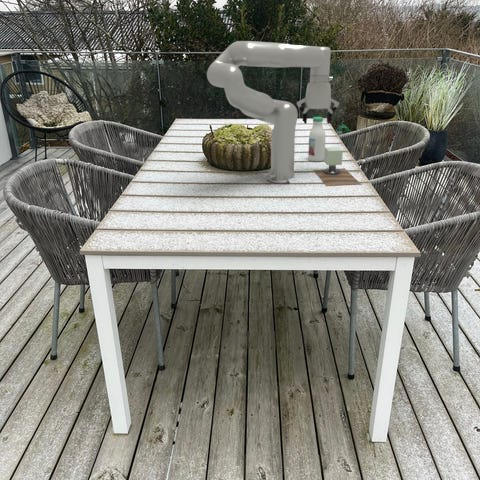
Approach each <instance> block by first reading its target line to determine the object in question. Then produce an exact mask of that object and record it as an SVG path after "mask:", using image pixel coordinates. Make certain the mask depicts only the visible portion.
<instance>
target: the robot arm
mask: <svg viewBox="0 0 480 480" xmlns="http://www.w3.org/2000/svg"><path fill="white" fill-rule="evenodd" d="M331 54H332V53H331V48H330V47H328V46H314V45H299V44H289V43H281V42H270V41H269V42H268V41H267V42H266V41H256V40H254V41H253V40H251V41H250V40H237V41H234V42H233V43H231V44H230V45H229V46H228V47H226V48H225V50H223V52H222V53H220V54H219V55H218V57H217V58H216V59H215V60H214V61H213V62H212V63H211V64H210V65H209V67H208V68H207V71H206V78H207V82H209V83H210V85H212V86H214V87H216V88H220V89H221V88H222V89H224V93H225V97H226V99H227V101H228V103H229V104H230V105H231V106H232V107H234V108H236V109H239V110H240V111H241V113H242V114H243V115H246V116H248V117H250V118H253V119H256V120H259V121H261V122H265V123H267V124H272V125H273V129H272V132H271V135H270V162H271V163H270V169H268V172H267V173H262V175H261V177H262V179H267V180H268V182H270V183H272V184H273V183H275V184H291V182H290V180H291V179H294V177H295V147H296V145H295V143H296V141H295V139H296V126H297V122H298V117H299V114H298V110H300V111H301V112H302V122H303V123H304V124H305V125H306V124H307V122H308V113H307V112H308V111H309V110H327V114H326V115H327V116H326V123H327V124H330V122H332V114H333V113H334V112H335V111H336V110H337V108H338V107H339V106H340V102H339V101H338V100H335V99H334V98H332V87H331V83H330V81H333V76H330V68H331ZM240 66H243V67H245V66H246V67H258V68H259V67H261V68H262V67H263V68H264V67H265V68H310V70H309V71H310V72H309V73H310V74H309V82H308V83H307V86H306V90H305V97H304V98H302V99H300V100H299V101H296V105H297V107H298V109H297V107H296V105H295V104H294V103H292V102H290V101H286V100H279V99H274V98H272V97H271V96H270V95H268V94H266V93H264V92H260V91H258V90H256V89H253V88H251V87H248V86H246V84H245V82H244V76H243V72H242V71H241V68H239V67H240ZM332 103H333V104H334V105H333V107H332V108H331V104H332ZM302 104H304V106H305V107H304V108H303V107H302Z"/></svg>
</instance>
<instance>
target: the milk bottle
mask: <svg viewBox="0 0 480 480" xmlns="http://www.w3.org/2000/svg"><path fill="white" fill-rule="evenodd" d="M323 122H324V117H322V116H313V117H312V124H313V125H312V128H310V131H309V135H308V160H309V161H311V162H324V154H325V148H326V131H325V129H324V127H323V126H324V125H323Z"/></svg>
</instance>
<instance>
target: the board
mask: <svg viewBox="0 0 480 480" xmlns="http://www.w3.org/2000/svg"><path fill="white" fill-rule="evenodd" d="M312 171H313V172H314V173H315V175H316V176H317V177H318V178H319V179H320V181H321V182H322V183H323V184H324V186H325V187H338V186H339V187H340V186H358V185H359V186H360V185H362V183H361V182H360V181H359V180H358V179H356V178H355V176H353V175H352V173H350V172H349V171H348V170H347V169H346V168H343V167H342V168H337V165H328V168H327V167H326V168H324V169H312Z"/></svg>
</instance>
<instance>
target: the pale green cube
mask: <svg viewBox="0 0 480 480" xmlns="http://www.w3.org/2000/svg"><path fill="white" fill-rule="evenodd" d="M343 153H344V150H343V149H342V148H340V146H338V147H334V146H333V147H325V154H324V160H323V162H324V163H325V165H327V166H329V165H336V166H342V165H343Z"/></svg>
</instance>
